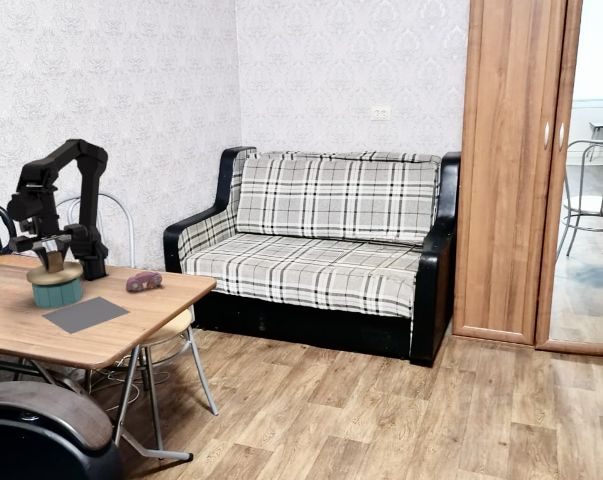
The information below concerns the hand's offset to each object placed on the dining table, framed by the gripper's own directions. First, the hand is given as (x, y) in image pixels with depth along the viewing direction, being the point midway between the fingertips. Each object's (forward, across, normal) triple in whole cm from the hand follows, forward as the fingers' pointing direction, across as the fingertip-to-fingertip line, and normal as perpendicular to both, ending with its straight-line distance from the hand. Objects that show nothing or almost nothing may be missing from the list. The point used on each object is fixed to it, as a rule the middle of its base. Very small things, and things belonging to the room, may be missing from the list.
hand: (54, 267), depth 155 cm
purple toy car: (+10, -19, +12) cm, 25 cm away
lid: (+2, 0, 0) cm, 2 cm away
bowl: (+10, 0, 0) cm, 10 cm away
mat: (+10, 0, +15) cm, 18 cm away
